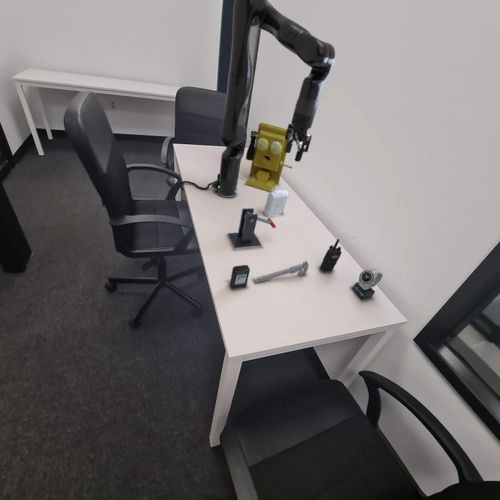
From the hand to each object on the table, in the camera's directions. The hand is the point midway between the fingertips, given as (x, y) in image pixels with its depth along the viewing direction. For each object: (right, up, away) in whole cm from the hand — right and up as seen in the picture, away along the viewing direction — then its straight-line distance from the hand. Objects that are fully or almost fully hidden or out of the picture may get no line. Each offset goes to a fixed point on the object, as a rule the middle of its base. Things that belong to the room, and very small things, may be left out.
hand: (292, 156), depth 104 cm
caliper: (-6, -47, -11) cm, 48 cm away
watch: (+23, -52, -10) cm, 58 cm away
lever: (-13, -26, -2) cm, 29 cm away
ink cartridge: (-21, -49, -17) cm, 56 cm away
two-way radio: (+12, -44, -2) cm, 46 cm away
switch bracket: (-19, -33, +2) cm, 38 cm away
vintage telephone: (-12, +1, +47) cm, 49 cm away
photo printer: (-6, -20, +23) cm, 31 cm away
